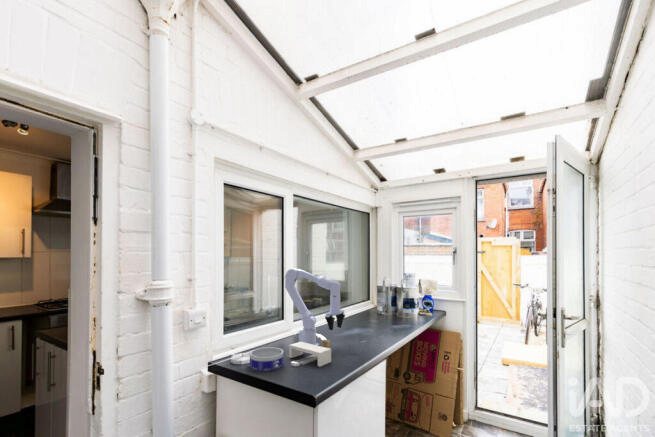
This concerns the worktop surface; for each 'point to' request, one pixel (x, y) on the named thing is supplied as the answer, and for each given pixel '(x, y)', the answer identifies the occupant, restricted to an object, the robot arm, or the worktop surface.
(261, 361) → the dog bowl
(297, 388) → the worktop surface
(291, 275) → the robot arm
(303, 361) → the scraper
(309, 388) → the worktop surface
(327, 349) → the small white bench
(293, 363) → the token
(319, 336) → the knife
